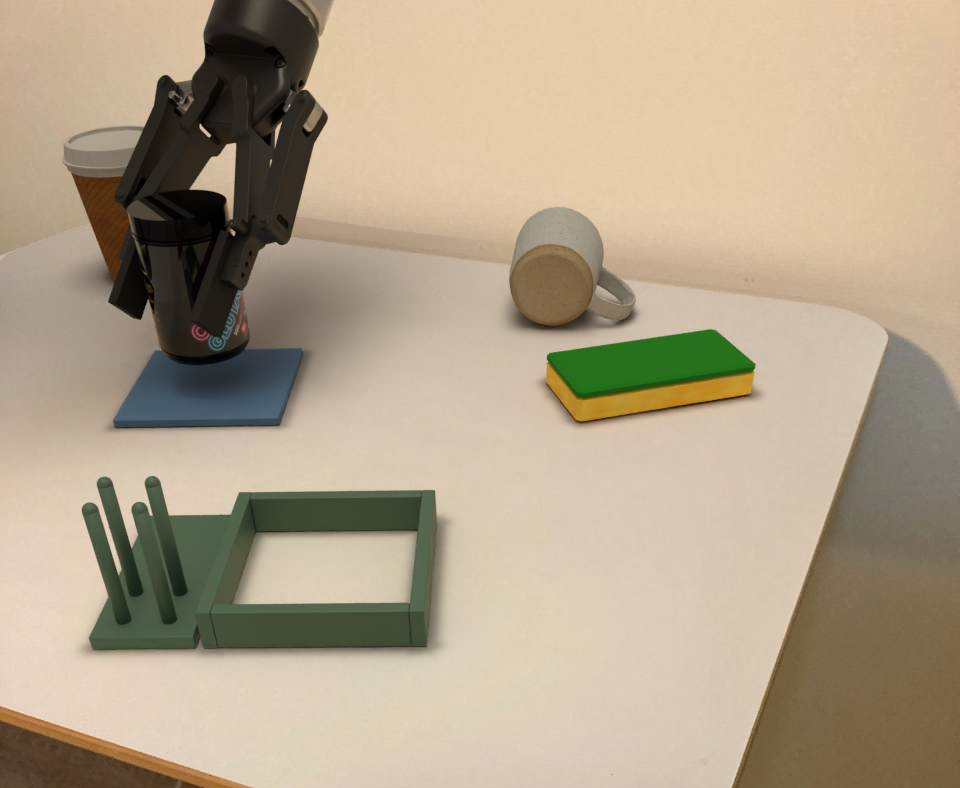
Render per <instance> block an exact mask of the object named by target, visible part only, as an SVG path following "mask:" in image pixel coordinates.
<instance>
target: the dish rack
mask: <svg viewBox="0 0 960 788" xmlns="http://www.w3.org/2000/svg"><path fill="white" fill-rule="evenodd" d="M96 488H97V491H98V494H99V498H100V502H101V505H102V509H103V511H104V515H105V518H106V521H107V525H108V528H109V531H110V535H111V538H112V541H113V545H114V549H115V551H116V555H117V558H118V563H119V565H120V571H119V572H118V569H117V565H116V563H115V559H114V556H113V553H112V549H111V545H110V542H109V539H108V536H107V532H106V530H105V526H104V522H103V520H102V519H103V518H102V516H101V512H100V510H99V509H100V508H99V506H98V505H97V504H95V503H94V502H90V501H89V502H85V503H84V504H83V505H82V506H81V515H82V518H83V521H84V523H85V527H86V529H87V530H86V531H87V533H88V536H89V539H90V542H91V546H92V549H93V552H94V556H95V558H96V562H97V565H98V567H99V571H100V574H101V578H102V580H103V584H104V588H105V591H106V595H107V599H106V600H105V603H104V605H103V607H102V609H101V612H100V613H99V616H98V618H97V620H96V622H95V624H94V626H93V627H92V629H91V632H90V634H89V637H88V640H89V643H90V646H91V648H92V649H93V650H118V649H119V650H120V649H121V650H123V649H124V650H125V649H127V650H128V649H129V650H130V649H131V650H132V649H134V650H136V649H140V650H141V649H195V648H196V647H197V645H198V641H199V639H200V641H201V645H202V648H203V649H218V648H223V649H225V648H226V649H227V648H228V649H229V648H327V647H328V648H330V647H331V648H334V647H336V648H337V647H338V648H339V647H342V648H343V647H344V648H345V647H346V648H347V647H427V646H428V636H429V624H430V612H431V600H432V598H431V597H432V586H433V575H434V566H435V565H434V564H435V553H436V552H435V551H436V541H437V540H436V539H437V527H438V517H437V516H438V514H437V513H438V512H437V497H436V490H435V489H407V490H406V489H401V490H399V489H397V490H394V489H393V490H392V489H391V490H389V489H388V490H318V491H316V490H313V491H310V490H309V491H308V490H307V491H238V494H237V496H236V499H235V502H234V504H233V507H232V510H231V513H230V514H172V515H171V514H169V511H168V507H167V502H166V497H165V495H164V490H163V486H162V483H161V480H160V478H159V477H157V476H155V475H149V476H147V478H145V480H144V488H145V492H146V495H147V500H148V504H149V507H150V511H151V514H152V515H151V514H150V511H149V507H148V505H147V504H146V503H145V502H143V501H136V502H134V503H132V505H131V510H130V511H131V515H132V518H133V522H134V526H135V529H136V532H137V536H136V538H135V541H134V543H133V545H132V546H131V541H130V538H129V535H128V532H127V528H126V524H125V521H124V517H123V514H122V509H121V507H120V506H121V505H120V503H119V500H118V499H119V498H118V497H117V493H116V490H115V485H114V482H113V480H112V479H111V478H110V477H108V476H101V477H99V478H97V480H96ZM393 530H394V531H406V530H409V531H410V530H413V531H415V530H417V533H416V534H417V536H416V543H415V552H414V561H413V570H412V571H413V572H412V580H411V590H410V598H409V599H410V600H409V602H330V603H329V602H327V603H324V602H323V603H321V602H320V603H318V602H317V603H233V602H234V598H235V596H236V593H237V589H238V587H239V583H240V581H241V577H242V575H243V571H244V568H245V565H246V562H247V559H248V556H249V553H250V549H251V546H252V544H253V540H254V537H255V535H256V532H315V531H316V532H320V531H321V532H322V531H323V532H324V531H325V532H328V531H331V532H332V531H393Z"/></svg>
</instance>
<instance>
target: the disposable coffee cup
mask: <svg viewBox="0 0 960 788" xmlns="http://www.w3.org/2000/svg"><path fill="white" fill-rule="evenodd" d="M144 126H145V125H111V126H110V125H109V126H104V127H98V128H92V129H87V130H84V131H80V132H77V133H73V134H72V135H70V136H68V137H67V138H65V139H64V141H63V145H62V146H63V154H62V156H61V161H62V164H63V165H64V166H66V169H67V171H68V172H69V173H70V174H71V176H72V179H73V182H74V184H75V186H76V187H75V188H76V190H77V192H78V195H79V198H80V200H81V202H82V206H83V207H84V210H85V213H86V216H87V218H88V220H89V223H90V226H91V228H92V231H93V234H94V236H95V239H96V242H97V244H98V246H99V247H98V248H99V249H100V252H101V255H102V257H103V259H104V262H105V265H106V268H107V271H108V272H109V276H110V278H111V280H112V281H113V282H115V280H116V277H117V274H118V271H119V268H120V266H121V263H122V261H121V260H120V250H121V247H122V245H123V242H124V240H125V236H126V233H127V230H128V228H129V225H130V221H129V217H128V213H127V210H126V209H125V208H123V207H122V206H121V205H120V204H118V203H117V202H116V201H115V199H114V195H115V192H116V190H117V187H118V185H119V183H120V181H121V178H122V176H123V174H124V172H125V169H126V167H127V165H128V163H129V160H130V158H131V156H132V154H133V151H134V149H135V147H136V144H137V142H138V140H139V138H140V135H141V133H142V131H143V129H144Z"/></svg>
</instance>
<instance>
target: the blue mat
mask: <svg viewBox="0 0 960 788" xmlns="http://www.w3.org/2000/svg"><path fill="white" fill-rule="evenodd" d="M303 349H304V348H303V347H293V348H291V347H289V348H287V347H285V348H280V347H279V348H245V350H244V351H243V352H242V353H241V354H239V355H237V356H236V357H234V358H231V359H229V360H226V361H223V362H219V363H215V364H209V365H185V364H180V363H177V362H174V361H172V360H171V359H169V358H168V357H167V356H165V354H164V353H163V352H162V350H161V349H160V350H159V349H158V350H154V352H153V353H152V355H151V356H150V358H149V360H148V362H147V363H146V365H145V367H144V368H143V369H142V371H141V373H140V375H139V377H138V378H137V380H136V381H135V383H134V385H133V386H132V387H131V389H130V391H129V393H128V394H127V396H126V398H125V399H124V401H123V403H122V405H121V406H120V407H119V409H118V411H117V413H116V415H115V416H114V418H113V419H112V422H113V426H114V428H164V427H165V428H169V427H170V428H171V427H239V426H240V427H243V426H245V427H246V426H248V427H249V426H279V425H280V424H281V421H282V418H283V416H284V415H283V414H284V412H285V409H286V406H287V403H288V401H289V397H290V394H291V391H292V388H293V386H294V382H295V380H296V377H297V374H298V371H299V369H300V366H301V362H302V359H303V356H304V350H303Z"/></svg>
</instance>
